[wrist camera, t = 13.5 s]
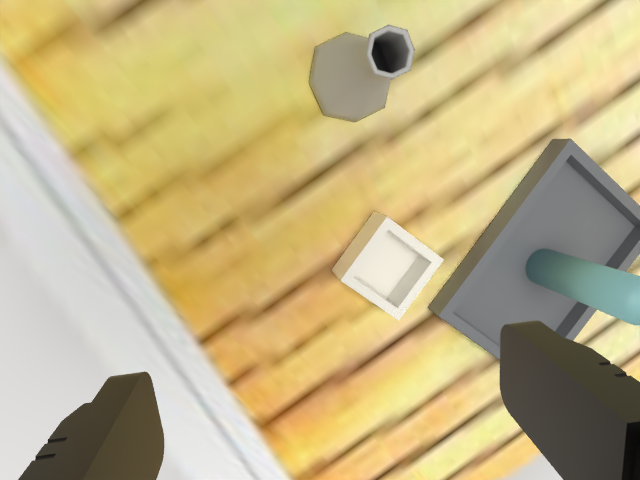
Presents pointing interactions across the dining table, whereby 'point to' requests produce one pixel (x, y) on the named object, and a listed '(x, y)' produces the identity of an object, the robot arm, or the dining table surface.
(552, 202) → the tray
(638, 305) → the dowel
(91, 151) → the dining table surface
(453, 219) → the dining table surface
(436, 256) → the tray
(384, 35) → the flask
